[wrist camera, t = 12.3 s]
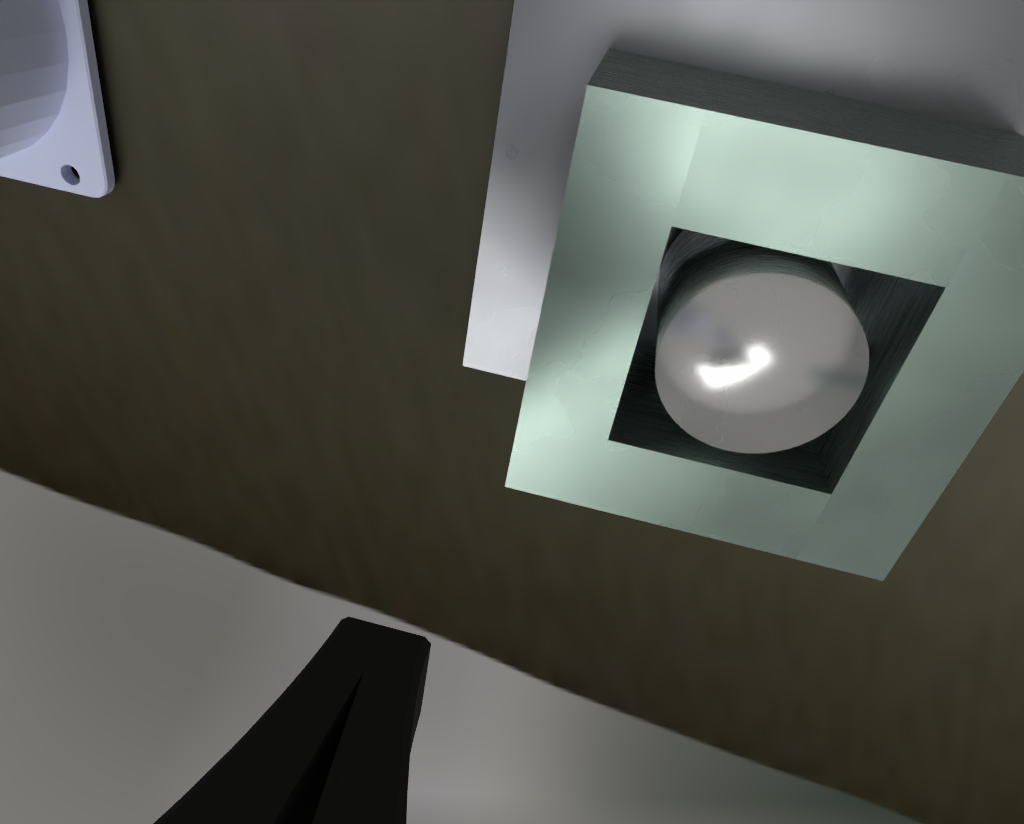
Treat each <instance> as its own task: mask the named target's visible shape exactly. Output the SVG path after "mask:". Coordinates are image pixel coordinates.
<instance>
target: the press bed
mask: <svg viewBox="0 0 1024 824" xmlns="http://www.w3.org/2000/svg"><path fill="white" fill-rule="evenodd" d="M683 229H686V230H690V231H695V232H699V233H704V234H708V235H713V236H717V237H722V238H726V239H731V240H735V241H740V242H744V243H749V244H753V245H758V246H762V247H767V248H771V249H776V250H780V251H785V252H789V253H793V254H798V255H802V256H807V257H811V258H816V259H820V260H825V261H829V262H831V263H832V265H833V267H834V269H835V271H836V273H837V275H838V277H839V279H840V281H841V284H842V286H843V288H844V290H845V292H846V294H847V296H848V298H849V300H850V302H851V304H852V306H853V309H854V311H855V313H856V315H857V317H858V319H859V321H860V323H861V325H862V328H863V330H864V333H865V335H866V338H867V343H868V347H869V368H868V374H867V378H866V381H865V385H864V387H863V389H862V391H861V394H860V396H859V397H858V399H857V401H856V402H855V404H854V405H853V407H852V408H851V409H850V410H849V412H848V413H847V414H846V415H845V416H844V417H843V418H842V419H841V420H840V421H839V422H838V423H837V424H836V425H834V426H833V427H832V428H830V429H829V430H828V431H826V432H825V433H823V434H822V435H820V436H818V437H817V438H815V439H813V440H811V441H809V442H806V443H804V444H802V445H799V446H796V447H793V448H790V449H786V450H781V451H777V452H769V453H751V454H750V453H738V452H732V451H727V450H723V449H720V448H716V447H713V446H711V445H708V444H706V443H704V442H702V441H700V440H698V439H696V438H695V437H693V436H691V435H690V434H689V433H687V432H686V431H685V430H683V429H682V428H681V427H680V426H679V425H678V424H677V423H676V422H675V421H674V420H673V419H672V417H671V416H670V415H669V414H668V412H667V410H666V409H665V407H664V405H663V403H662V401H661V399H660V396H659V394H658V390H657V385H656V379H655V358H656V336H657V313H658V291H659V276H660V270H661V266H662V263H663V260H664V257H665V255H666V253H667V251H668V249H669V247H670V245H671V244H672V243H673V241H674V240H675V238H676V237H677V236H678V235H679V234H680V233H681V232H682V231H683ZM463 366H466V367H470V368H474V369H479V370H483V371H487V372H491V373H495V374H500V375H504V376H508V377H512V378H516V379H520V380H525V381H526V386H525V391H524V396H523V401H522V405H521V410H520V415H519V420H518V425H517V430H516V435H515V440H514V444H513V449H512V454H511V459H510V464H509V469H508V474H507V479H506V484H505V487H509V488H513V489H517V490H521V491H525V492H529V493H533V494H537V495H541V496H545V497H549V498H553V499H557V500H561V501H565V502H569V503H573V504H577V505H581V506H585V507H589V508H593V509H597V510H601V511H605V512H609V513H613V514H617V515H621V516H625V517H629V518H633V519H637V520H641V521H645V522H649V523H653V524H657V525H661V526H665V527H669V528H673V529H677V530H681V531H685V532H689V533H693V534H697V535H701V536H705V537H709V538H713V539H717V540H721V541H725V542H729V543H733V544H737V545H741V546H745V547H749V548H753V549H757V550H761V551H765V552H769V553H773V554H777V555H781V556H785V557H789V558H793V559H797V560H801V561H805V562H809V563H813V564H817V565H821V566H825V567H829V568H833V569H837V570H841V571H845V572H849V573H853V574H857V575H861V576H865V577H869V578H873V579H877V580H881V581H883V580H884V579H885V577H886V576H887V574H888V573H889V571H890V570H891V568H892V567H893V565H894V564H895V562H896V561H897V559H898V558H899V556H900V555H901V553H902V552H903V550H904V549H905V547H906V546H907V544H908V543H909V541H910V540H911V538H912V537H913V535H914V534H915V532H916V531H917V529H918V528H919V526H920V525H921V523H922V522H923V520H924V519H925V517H926V516H927V514H928V513H929V511H930V510H931V509H932V507H933V506H934V504H935V503H936V501H937V500H938V498H939V497H940V495H941V494H942V492H943V491H944V489H945V488H946V486H947V485H948V483H949V482H950V480H951V479H952V477H953V476H954V474H955V473H956V471H957V470H958V468H959V467H960V465H961V464H962V462H963V461H964V459H965V458H966V456H967V455H968V453H969V452H970V450H971V449H972V447H973V446H974V444H975V443H976V441H977V440H978V438H979V437H980V435H981V434H982V432H983V431H984V429H985V428H986V426H987V425H988V423H989V422H990V420H991V419H992V417H993V416H994V414H995V413H996V411H997V410H998V408H999V407H1000V405H1001V404H1002V402H1003V401H1004V399H1005V398H1006V396H1007V395H1008V393H1009V392H1010V390H1011V389H1012V387H1013V386H1014V384H1015V383H1016V381H1017V380H1018V378H1019V377H1020V375H1021V374H1022V372H1023V371H1024V0H515V1H514V8H513V15H512V22H511V29H510V36H509V43H508V50H507V57H506V64H505V71H504V78H503V85H502V92H501V99H500V106H499V113H498V120H497V127H496V134H495V141H494V149H493V156H492V163H491V170H490V177H489V184H488V191H487V198H486V205H485V212H484V219H483V226H482V233H481V240H480V247H479V254H478V261H477V268H476V275H475V282H474V289H473V296H472V303H471V310H470V317H469V324H468V331H467V338H466V346H465V353H464V360H463Z"/></svg>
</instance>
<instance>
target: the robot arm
mask: <svg viewBox="0 0 1024 824" xmlns="http://www.w3.org/2000/svg"><path fill="white" fill-rule="evenodd" d="M71 166H72V167H74V168H75V169H76V170H77V171H78V174H79V176H80V180H79V179H78V178H77V177H76V176H75V175H74V174H73V172H72V169H71ZM0 176H3V177H7V178H11V179H16V180H20V181H24V182H29V183H33V184H37V185H42V186H46V187H50V188H54V189H59V190H63V191H67V192H72V193H76V194H80V195H85V196H89V197H96V198H100V197H102V196H104V195H106V194H108V193H110V192H112V190H113V189H114V187H115V177H114V170H113V164H112V157H111V151H110V145H109V138H108V132H107V125H106V119H105V112H104V106H103V100H102V93H101V87H100V80H99V74H98V67H97V61H96V55H95V48H94V42H93V35H92V29H91V22H90V16H89V9H88V3H87V0H0ZM430 647H431V643H430V642H429V641H428V640H427V639H426V638H425V637H423V636H420V635H416V634H412V633H408V632H404V631H401V630H397V629H393V628H389V627H386V626H382V625H378V624H374V623H371V622H367V621H363V620H359V619H355V618H351V617H347V618H345V619H342V620H341V621H340V623H339V624H338V625H337V627H336V628H335V630H334V631H333V632H332V634H331V635H330V636H329V638H328V639H327V640H326V642H325V643H324V644H323V645H322V647H321V648H320V649H319V651H318V652H317V653H316V654H315V656H314V657H313V658H312V659H311V661H310V662H309V663H308V664H307V665H306V667H305V668H304V669H303V670H302V671H301V673H300V674H299V675H298V676H297V677H296V678H295V680H294V681H293V682H292V683H291V684H290V686H289V687H288V688H287V689H286V690H285V691H284V692H283V694H282V695H281V696H280V697H279V698H278V699H277V700H276V701H275V702H274V703H273V705H272V706H271V707H270V708H269V709H268V710H267V711H266V712H265V713H264V714H263V715H262V717H261V718H260V719H259V720H258V721H257V722H256V723H255V724H254V725H253V726H252V727H251V728H250V730H249V731H248V732H247V733H246V734H245V735H244V736H243V737H242V738H241V739H240V740H239V741H238V743H236V744H235V745H234V746H233V747H232V749H230V750H229V752H228V753H226V754H225V755H224V756H223V757H222V759H220V760H219V761H218V762H217V763H216V764H215V765H214V766H213V767H212V769H210V770H209V771H208V772H207V773H206V774H205V775H204V776H203V777H202V778H201V779H200V780H199V781H198V782H197V783H196V784H195V785H194V786H193V787H192V788H191V789H190V790H189V791H188V792H187V793H186V794H185V795H184V796H183V797H182V798H181V799H180V800H179V801H177V802H176V803H175V804H174V805H173V806H172V807H171V808H170V809H169V810H168V811H167V812H166V813H165V814H163V815H162V816H161V817H160V818H159V819H158V820H157V821H156V822H155V823H154V824H406V812H407V789H408V773H409V759H410V752H411V748H412V743H413V738H414V734H415V731H416V727H417V723H418V720H419V716H420V712H421V706H422V700H423V693H424V686H425V680H426V673H427V667H428V660H429V653H430Z"/></svg>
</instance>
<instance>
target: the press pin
mask: <svg viewBox="0 0 1024 824" xmlns="http://www.w3.org/2000/svg"><path fill="white" fill-rule="evenodd" d="M868 368H869V347H868V343H867V338H866V335H865V333H864V330H863V328H862V325H861V323H860V321H859V319H858V317H857V315H856V313H855V311H854V309H853V306H852V304H851V302H850V300H849V298H848V296H847V294H846V292H845V290H844V288H843V286H842V284H841V281H840V279H839V277H838V275H837V273H836V271H835V269H834V267H833V265H832V263H831V262H829V261H825V260H820V259H816V258H811V257H807V256H802V255H798V254H793V253H789V252H785V251H780V250H776V249H771V248H767V247H762V246H758V245H753V244H749V243H744V242H740V241H735V240H731V239H726V238H722V237H717V236H713V235H708V234H704V233H699V232H695V231H690V230H686V229H683V231H682V232H681V233H680V234H679V235H678V236H677V237H676V238H675V240H674V241H673V243H672V244H671V245H670V247H669V249H668V251H667V253H666V255H665V257H664V260H663V263H662V266H661V270H660V276H659V291H658V313H657V336H656V358H655V379H656V385H657V390H658V394H659V396H660V399H661V401H662V403H663V405H664V407H665V409H666V410H667V412H668V414H669V415H670V416H671V417H672V419H673V420H674V421H675V422H676V423H677V424H678V425H679V426H680V427H681V428H682V429H683V430H685V431H686V432H687V433H689V434H690V435H691V436H693V437H695V438H696V439H698V440H700V441H702V442H704V443H706V444H708V445H711V446H713V447H716V448H720V449H723V450H727V451H732V452H738V453H750V454H751V453H769V452H777V451H781V450H786V449H790V448H793V447H796V446H799V445H802V444H804V443H806V442H809V441H811V440H813V439H815V438H817V437H818V436H820V435H822V434H823V433H825V432H826V431H828V430H829V429H830V428H832V427H833V426H834V425H836V424H837V423H838V422H839V421H840V420H841V419H842V418H843V417H844V416H845V415H846V414H847V413H848V412H849V410H850V409H851V408H852V407H853V405H854V404H855V402H856V401H857V399H858V397H859V396H860V394H861V391H862V389H863V387H864V385H865V381H866V378H867V374H868Z"/></svg>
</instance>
